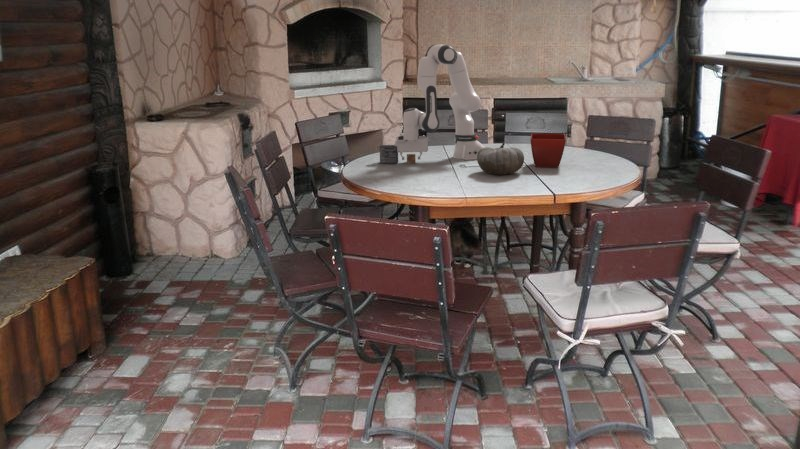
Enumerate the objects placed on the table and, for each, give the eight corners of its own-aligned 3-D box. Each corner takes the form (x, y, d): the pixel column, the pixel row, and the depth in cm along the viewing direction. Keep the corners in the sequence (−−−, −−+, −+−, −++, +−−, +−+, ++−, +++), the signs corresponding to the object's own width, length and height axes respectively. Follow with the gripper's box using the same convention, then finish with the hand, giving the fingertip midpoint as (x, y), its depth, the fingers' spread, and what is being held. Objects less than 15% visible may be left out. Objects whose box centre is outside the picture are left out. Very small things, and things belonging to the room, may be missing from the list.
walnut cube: (415, 162, 413) (415, 153, 411) (415, 163, 408) (415, 155, 406) (406, 162, 413) (406, 153, 411) (407, 163, 408) (406, 155, 406)
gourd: (507, 175, 359) (505, 141, 357) (468, 177, 375) (466, 145, 374) (532, 172, 377) (530, 140, 376) (494, 174, 394) (492, 143, 392)
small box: (398, 161, 414) (398, 144, 411) (397, 164, 407) (397, 146, 404) (381, 161, 415) (380, 144, 412) (379, 163, 408) (379, 146, 406)
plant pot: (564, 169, 384) (565, 139, 380) (529, 168, 388) (530, 138, 383) (563, 162, 402) (565, 133, 398) (530, 162, 406) (531, 133, 401)
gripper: (428, 135, 409) (428, 158, 413) (393, 135, 409) (394, 158, 413) (428, 136, 403) (429, 160, 407) (393, 137, 403) (394, 160, 406)
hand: (411, 159), depth 410 cm, fingers open, 8 cm apart
